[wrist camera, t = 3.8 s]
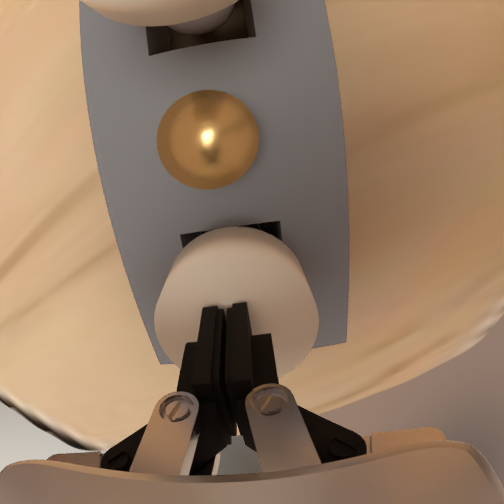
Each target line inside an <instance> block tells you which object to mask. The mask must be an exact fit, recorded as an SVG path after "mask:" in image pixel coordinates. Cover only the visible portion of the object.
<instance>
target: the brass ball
mask: <svg viewBox="0 0 504 504" xmlns="http://www.w3.org/2000/svg"><path fill="white" fill-rule="evenodd" d="M258 145H259V132H258V127H257V124H256V121H255V119H254V117H253V115H252V113H251V112H250V110H249V109H248V108H247V106H246V105H245V104H244V103H243V102H241V101H240V100H239V99H238V98H236V97H234V96H233V95H230V94H228V93H225V92H222V91H217V90H200V91H195V92H192V93H189V94H187V95H185V96H183V97H181V98H180V99H178V100H177V101H176V102H174V103H173V104H172V105H171V106H170V107H169V108H168V110H167V111H166V112H165V114H164V116H163V117H162V119H161V122H160V124H159V127H158V131H157V150H158V154H159V157H160V160H161V162H162V164H163V166H164V167H165V169H166V170H167V171H168V173H169V174H170V175H171V176H172V177H174V178H175V179H176V180H177V181H179V182H181V183H182V184H184V185H187V186H189V187H192V188H196V189H204V190H210V189H217V188H222V187H224V186H227V185H229V184H231V183H233V182H235V181H236V180H238V179H239V178H240V177H241V176H243V175H244V174H245V173H246V171H247V170H248V169H249V168H250V166H251V165H252V163H253V161H254V159H255V156H256V154H257V150H258Z"/></svg>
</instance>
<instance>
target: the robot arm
mask: <svg viewBox="0 0 504 504" xmlns="http://www.w3.org/2000/svg"><path fill="white" fill-rule="evenodd" d="M237 425H238V428H239V432H240V435H243V438H244V441H245V445H247V446H248V447H249V448H251V449H252V450H254V451H256V452H257V454H258V457H259V461H260V465H261V469H262V472H261V473H249V474H235V475H217V472H218V467H219V462H220V451H222V450H223V449H224V448H225V447H226V446H227V445H229V444H231V436H236V435H237ZM0 504H504V489H503V486H502V484H501V482H500V481H499V479H498V477H497V475H496V474H495V472H494V470H493V468H492V467H491V465H490V464H489V462H488V461H487V460H486V458H485V457H484V456H483V455H482V454H481V453H480V451H478V450H477V449H476V448H475V447H473V446H472V445H470V444H467V443H463V442H458V441H446V439H445V436H444V434H443V433H442V432H441V431H440V430H438V429H436V428H433V427H423V428H416V429H408V430H399V431H388V432H378V433H371V435H370V436H360V435H358V434H357V433H355V432H353V431H351V430H349V429H346V428H344V427H342V426H340V425H337V424H335V423H333V422H331V421H329V420H326V419H325V418H322V417H320V416H318V415H316V414H314V413H312V412H310V411H308V410H306V409H304V408H302V407H300V406H298V405H297V403H296V401H295V399H294V396H293V394H292V393H291V391H290V390H289V389H288V388H286V387H285V386H282V385H279V382H278V375H277V369H276V362H275V356H274V349H273V343H272V336H271V333H267V334H259V335H252V330H251V324H250V318H249V312H248V306H247V302H242V303H234V304H232V308H227V323H226V318H225V314H224V310H223V309H218V306H210V307H203V308H202V314H201V320H200V326H199V333H198V339H197V342H187V343H186V345H185V349H184V354H183V359H182V364H181V370H180V375H179V381H178V386H177V392H173V393H169V394H167V395H165V396H163V397H162V398H161V399H160V400H159V401H158V402H157V404H156V406H155V408H154V410H153V413H152V415H151V418H150V420H149V422H148V424H147V425H145V426H144V427H142V428H141V429H139V430H138V431H136V432H135V433H133V434H132V435H130V436H129V437H127V438H126V439H124V440H123V441H121V442H120V443H118V444H117V445H115V446H113V447H112V448H110V449H109V450H108V451H107V452H106V453H105V454H102V453H101V452H100V451H98V452H85V453H67V454H56V455H52V456H51V457H49V458H48V459H47V460H26V461H19V462H16V463H12V464H10V465H8V466H6V467H5V468H4V469H3V470H2V471H1V472H0Z"/></svg>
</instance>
